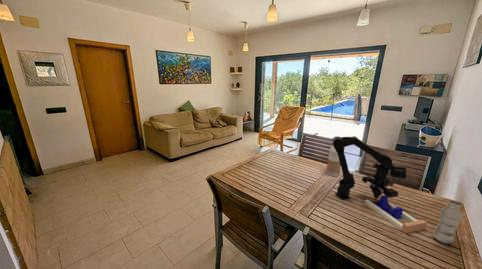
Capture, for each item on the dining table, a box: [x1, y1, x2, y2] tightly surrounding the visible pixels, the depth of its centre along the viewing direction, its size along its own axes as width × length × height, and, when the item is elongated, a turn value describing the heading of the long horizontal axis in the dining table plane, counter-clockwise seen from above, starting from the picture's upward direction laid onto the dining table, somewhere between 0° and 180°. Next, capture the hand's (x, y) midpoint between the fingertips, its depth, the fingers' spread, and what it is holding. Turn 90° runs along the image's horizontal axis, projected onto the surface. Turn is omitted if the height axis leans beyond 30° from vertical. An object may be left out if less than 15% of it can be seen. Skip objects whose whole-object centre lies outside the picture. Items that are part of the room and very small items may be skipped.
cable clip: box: [376, 195, 404, 220], centre depth 106 cm, size 12×4×6 cm, turn 1°
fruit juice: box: [326, 144, 341, 177], centre depth 146 cm, size 9×9×28 cm
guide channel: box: [364, 197, 428, 234], centre depth 103 cm, size 12×24×4 cm, turn 12°
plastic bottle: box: [433, 200, 463, 245], centre depth 84 cm, size 6×7×20 cm
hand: (376, 198), depth 113 cm, fingers closed
